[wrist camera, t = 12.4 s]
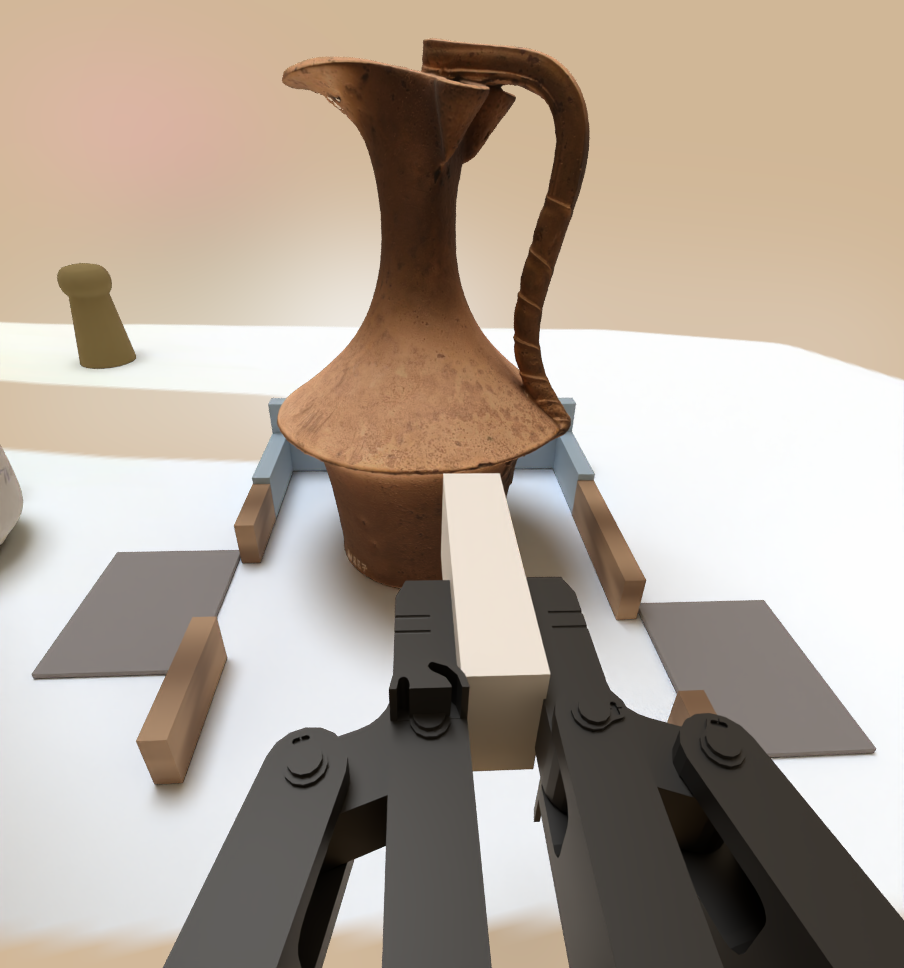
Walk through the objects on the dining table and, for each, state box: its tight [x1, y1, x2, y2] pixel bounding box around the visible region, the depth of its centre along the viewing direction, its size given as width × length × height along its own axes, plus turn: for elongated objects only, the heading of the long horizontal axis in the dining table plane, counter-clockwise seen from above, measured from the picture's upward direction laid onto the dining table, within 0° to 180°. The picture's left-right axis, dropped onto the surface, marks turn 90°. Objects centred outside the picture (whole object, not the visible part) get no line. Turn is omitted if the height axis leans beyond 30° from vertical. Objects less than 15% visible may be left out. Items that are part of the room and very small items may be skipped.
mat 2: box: [638, 600, 876, 757], centre depth 31 cm, size 10×8×1 cm
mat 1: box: [32, 550, 241, 678], centre depth 34 cm, size 10×8×1 cm
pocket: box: [252, 398, 595, 518], centre depth 45 cm, size 8×24×6 cm, turn 93°
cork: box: [57, 263, 136, 369], centre depth 67 cm, size 6×6×11 cm
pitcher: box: [277, 38, 589, 588], centre depth 33 cm, size 18×17×28 cm
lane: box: [136, 480, 717, 784], centre depth 33 cm, size 20×24×3 cm
